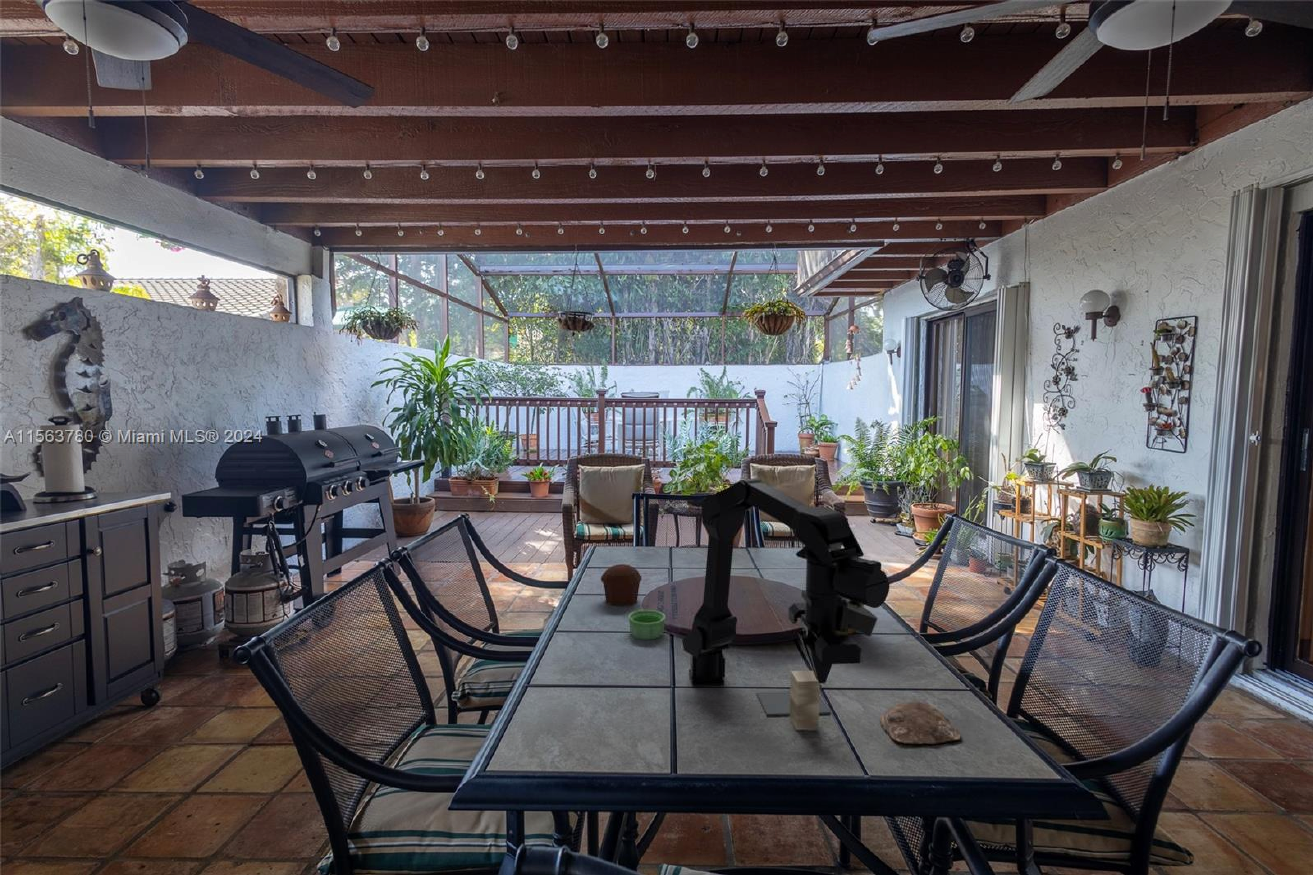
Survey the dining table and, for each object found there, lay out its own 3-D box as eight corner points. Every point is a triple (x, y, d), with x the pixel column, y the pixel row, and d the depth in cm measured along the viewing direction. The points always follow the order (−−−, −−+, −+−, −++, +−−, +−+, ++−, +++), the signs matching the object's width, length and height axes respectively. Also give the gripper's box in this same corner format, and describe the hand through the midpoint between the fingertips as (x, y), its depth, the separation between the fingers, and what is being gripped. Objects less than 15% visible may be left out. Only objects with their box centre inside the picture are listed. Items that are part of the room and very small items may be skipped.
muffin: (624, 591, 180) (624, 558, 180) (649, 601, 172) (650, 566, 171) (592, 600, 172) (592, 565, 172) (617, 611, 164) (617, 575, 163)
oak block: (796, 730, 108) (797, 681, 107) (789, 718, 112) (790, 671, 111) (818, 730, 108) (819, 681, 107) (811, 717, 112) (812, 670, 111)
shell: (867, 713, 115) (868, 694, 114) (932, 711, 116) (933, 692, 115) (896, 749, 103) (897, 729, 103) (968, 746, 104) (969, 726, 104)
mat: (766, 716, 113) (766, 714, 112) (756, 694, 120) (756, 692, 120) (830, 714, 113) (830, 712, 113) (816, 692, 121) (816, 690, 121)
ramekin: (664, 641, 145) (665, 623, 145) (627, 640, 146) (627, 623, 145) (665, 626, 154) (665, 609, 154) (629, 626, 154) (629, 609, 154)
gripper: (898, 609, 91) (893, 709, 92) (849, 571, 110) (846, 655, 111) (824, 610, 90) (821, 711, 92) (788, 572, 109) (786, 656, 110)
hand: (820, 681), depth 101 cm, fingers closed
